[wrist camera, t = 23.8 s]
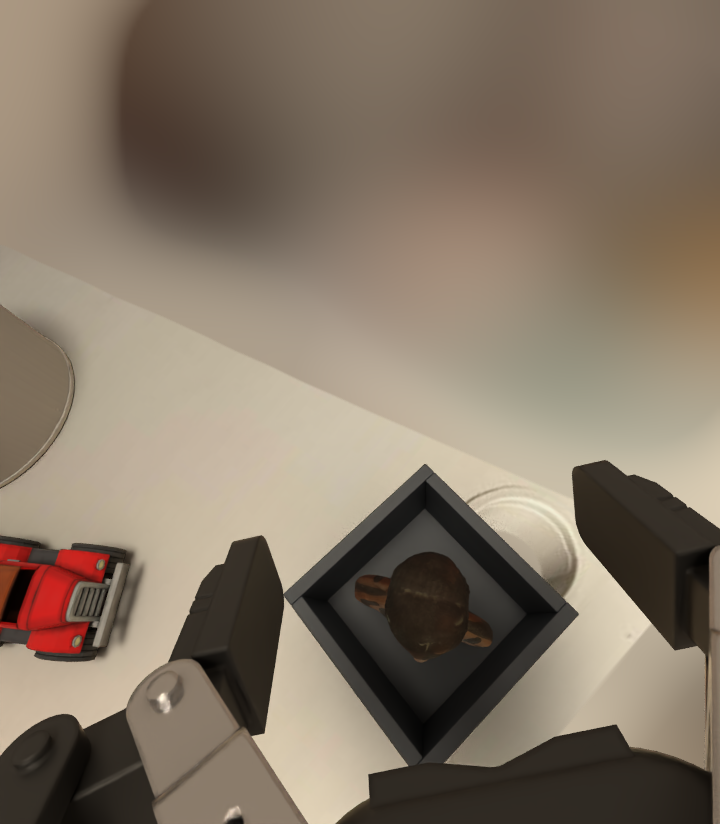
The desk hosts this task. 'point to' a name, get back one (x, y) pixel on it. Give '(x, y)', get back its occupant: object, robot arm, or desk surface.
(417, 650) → the figurine
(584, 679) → the desk surface
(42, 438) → the container
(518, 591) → the bin
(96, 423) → the desk surface
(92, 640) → the toy truck
